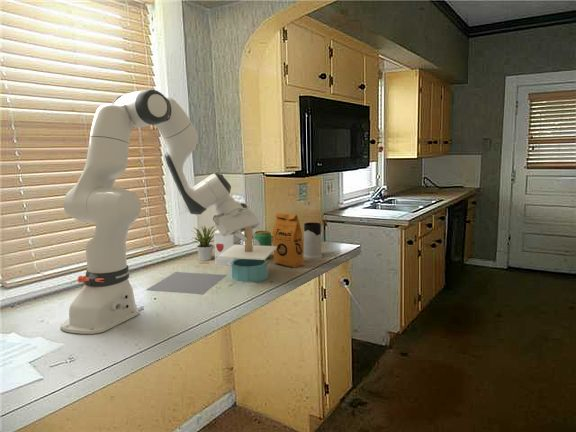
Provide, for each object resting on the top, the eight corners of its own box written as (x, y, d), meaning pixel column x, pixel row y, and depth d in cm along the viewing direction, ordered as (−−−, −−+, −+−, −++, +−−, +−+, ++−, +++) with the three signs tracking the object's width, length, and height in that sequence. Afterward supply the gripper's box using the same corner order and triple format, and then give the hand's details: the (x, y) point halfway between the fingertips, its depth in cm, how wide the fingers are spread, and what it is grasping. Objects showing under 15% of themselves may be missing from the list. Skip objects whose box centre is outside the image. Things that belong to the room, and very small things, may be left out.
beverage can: (250, 258, 191) (249, 232, 189) (264, 254, 196) (263, 229, 194) (261, 261, 185) (260, 234, 183) (275, 258, 190) (274, 232, 188)
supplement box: (214, 266, 179) (213, 231, 176) (222, 260, 187) (221, 227, 185) (234, 267, 177) (233, 232, 174) (241, 261, 185) (240, 228, 183)
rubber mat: (203, 295, 143) (203, 294, 143) (145, 291, 148) (145, 290, 148) (226, 276, 164) (226, 275, 164) (175, 273, 169) (175, 271, 169)
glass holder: (299, 256, 192) (299, 224, 190) (314, 250, 204) (314, 219, 201) (316, 259, 187) (316, 226, 185) (330, 252, 199) (331, 221, 196)
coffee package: (292, 269, 172) (292, 217, 168) (270, 264, 180) (269, 214, 176) (307, 264, 180) (307, 213, 176) (285, 259, 188) (284, 211, 184)
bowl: (261, 283, 155) (261, 268, 154) (226, 281, 158) (225, 266, 157) (271, 272, 168) (271, 258, 167) (238, 270, 171) (238, 256, 170)
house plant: (227, 255, 197) (226, 220, 194) (219, 263, 183) (218, 226, 180) (197, 254, 198) (196, 220, 195) (188, 262, 184) (186, 226, 182)
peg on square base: (264, 259, 151) (263, 233, 149) (217, 257, 155) (216, 232, 153) (277, 247, 168) (276, 224, 167) (234, 245, 172) (234, 223, 171)
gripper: (214, 210, 154) (236, 239, 150) (249, 203, 171) (269, 229, 167) (206, 221, 157) (227, 250, 153) (241, 213, 174) (261, 239, 170)
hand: (249, 239), depth 160 cm, fingers closed on peg on square base, 3 cm apart
